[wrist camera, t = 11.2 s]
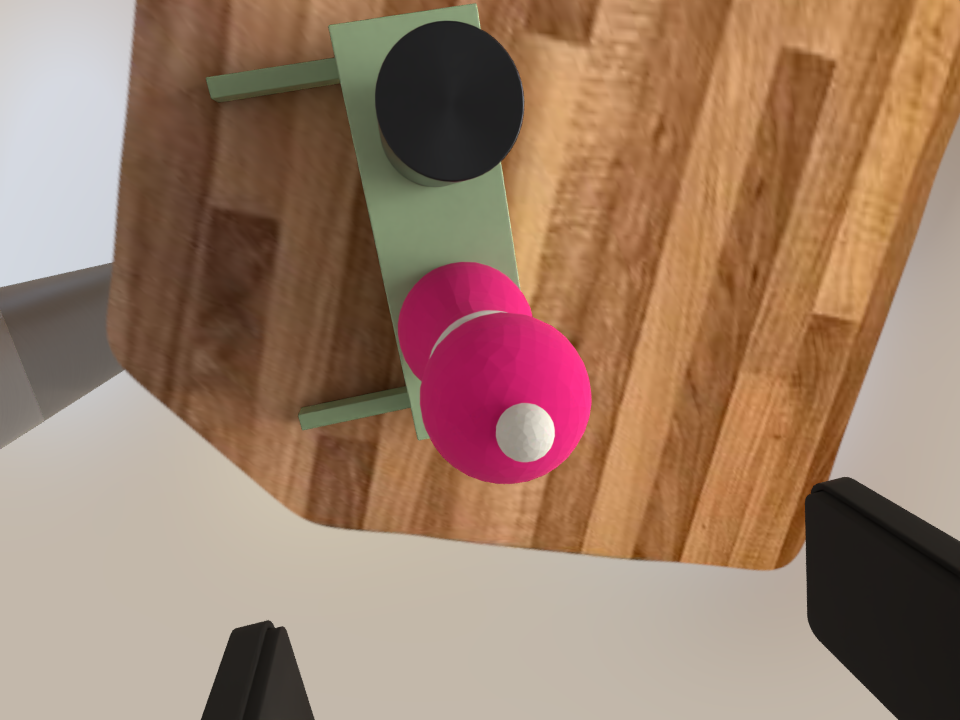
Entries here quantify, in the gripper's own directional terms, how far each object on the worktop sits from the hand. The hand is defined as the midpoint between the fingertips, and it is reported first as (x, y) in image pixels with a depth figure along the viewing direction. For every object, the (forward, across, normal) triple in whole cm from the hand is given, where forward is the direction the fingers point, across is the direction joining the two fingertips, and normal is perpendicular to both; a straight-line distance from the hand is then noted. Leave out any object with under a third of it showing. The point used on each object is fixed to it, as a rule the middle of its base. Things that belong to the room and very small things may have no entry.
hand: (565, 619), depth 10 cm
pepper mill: (+27, -2, 0) cm, 27 cm away
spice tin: (+27, -2, -11) cm, 29 cm away
